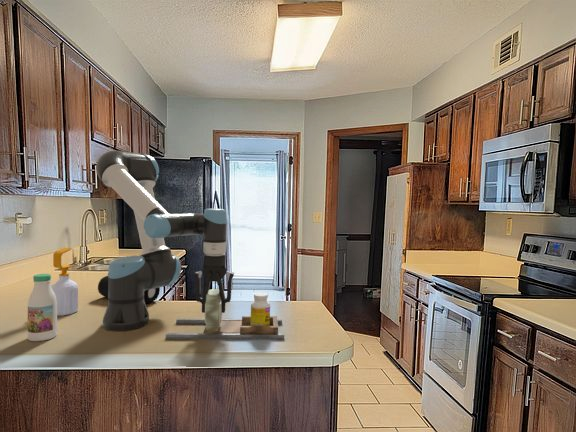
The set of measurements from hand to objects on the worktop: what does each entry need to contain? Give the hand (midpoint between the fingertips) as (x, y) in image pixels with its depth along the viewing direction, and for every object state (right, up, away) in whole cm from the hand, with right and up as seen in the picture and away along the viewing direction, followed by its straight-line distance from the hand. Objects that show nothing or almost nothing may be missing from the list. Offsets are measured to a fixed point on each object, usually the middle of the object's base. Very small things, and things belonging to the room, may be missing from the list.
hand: (213, 321), depth 126 cm
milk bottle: (-52, -2, -10) cm, 53 cm away
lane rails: (+5, -3, 0) cm, 6 cm away
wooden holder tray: (+10, -3, +1) cm, 10 cm away
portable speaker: (-44, 0, +33) cm, 55 cm away
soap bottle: (-60, -1, +15) cm, 62 cm away
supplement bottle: (+16, -4, +1) cm, 16 cm away
